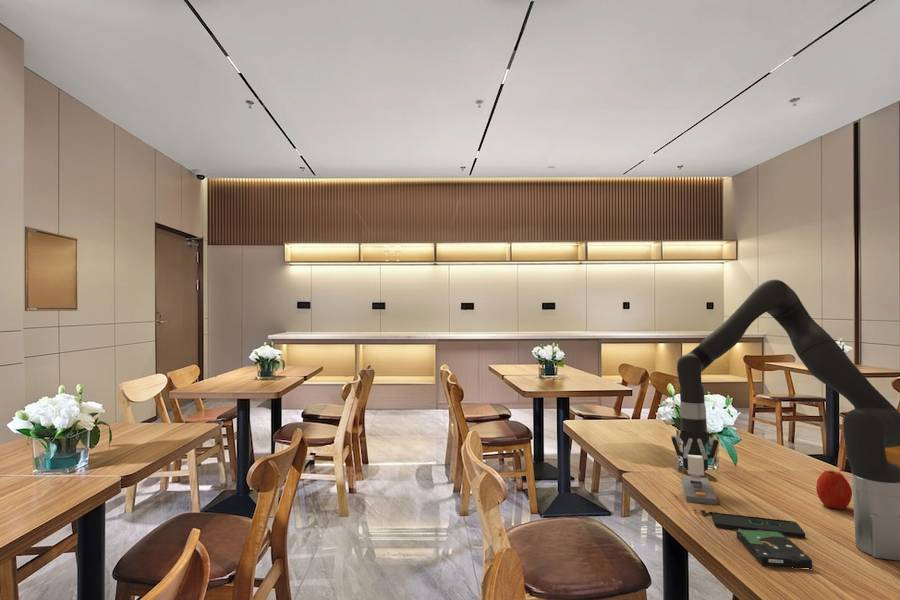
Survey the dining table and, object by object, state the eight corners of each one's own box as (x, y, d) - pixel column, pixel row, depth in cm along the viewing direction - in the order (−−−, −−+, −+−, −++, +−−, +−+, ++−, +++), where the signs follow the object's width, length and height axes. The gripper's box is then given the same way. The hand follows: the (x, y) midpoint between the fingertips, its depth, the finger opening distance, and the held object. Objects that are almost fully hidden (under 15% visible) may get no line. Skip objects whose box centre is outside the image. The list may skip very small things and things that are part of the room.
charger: (704, 480, 149) (703, 459, 149) (688, 478, 150) (687, 458, 151) (702, 476, 153) (701, 455, 153) (687, 474, 154) (686, 454, 155)
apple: (849, 504, 140) (847, 467, 140) (856, 514, 132) (854, 475, 133) (815, 499, 144) (813, 463, 144) (819, 508, 137) (817, 471, 137)
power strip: (720, 518, 131) (720, 505, 131) (688, 514, 134) (688, 501, 134) (708, 487, 156) (707, 476, 156) (681, 484, 159) (680, 473, 159)
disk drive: (814, 573, 103) (780, 541, 118) (813, 560, 104) (780, 530, 118) (762, 569, 105) (735, 538, 120) (761, 556, 105) (734, 527, 120)
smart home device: (806, 533, 118) (715, 522, 125) (806, 540, 118) (715, 529, 125) (795, 520, 126) (710, 511, 133) (796, 527, 126) (711, 517, 133)
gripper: (669, 417, 152) (671, 471, 151) (720, 419, 147) (722, 475, 146) (668, 412, 159) (670, 464, 158) (716, 415, 153) (719, 468, 152)
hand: (695, 469), depth 152 cm, fingers closed on charger, 4 cm apart
